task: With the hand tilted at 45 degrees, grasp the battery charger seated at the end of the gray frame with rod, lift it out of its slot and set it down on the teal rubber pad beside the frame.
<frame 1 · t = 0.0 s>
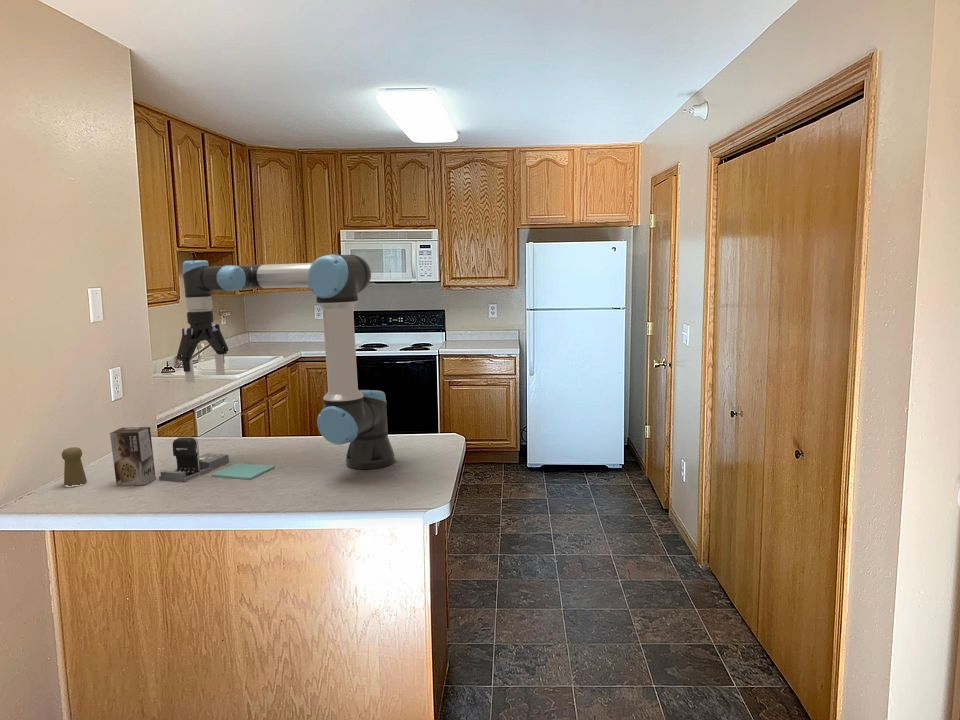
hand: (205, 378, 216), 28 cm above the worktop, tool pointing down, fingers open, 13 cm apart
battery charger: (187, 475, 210), resting in gray frame with rod
cork: (75, 484, 204), on the worktop
mat: (243, 472, 211), on the worktop
coffee box: (136, 482, 204), on the worktop
gray frame with rod: (196, 470, 214), on the worktop
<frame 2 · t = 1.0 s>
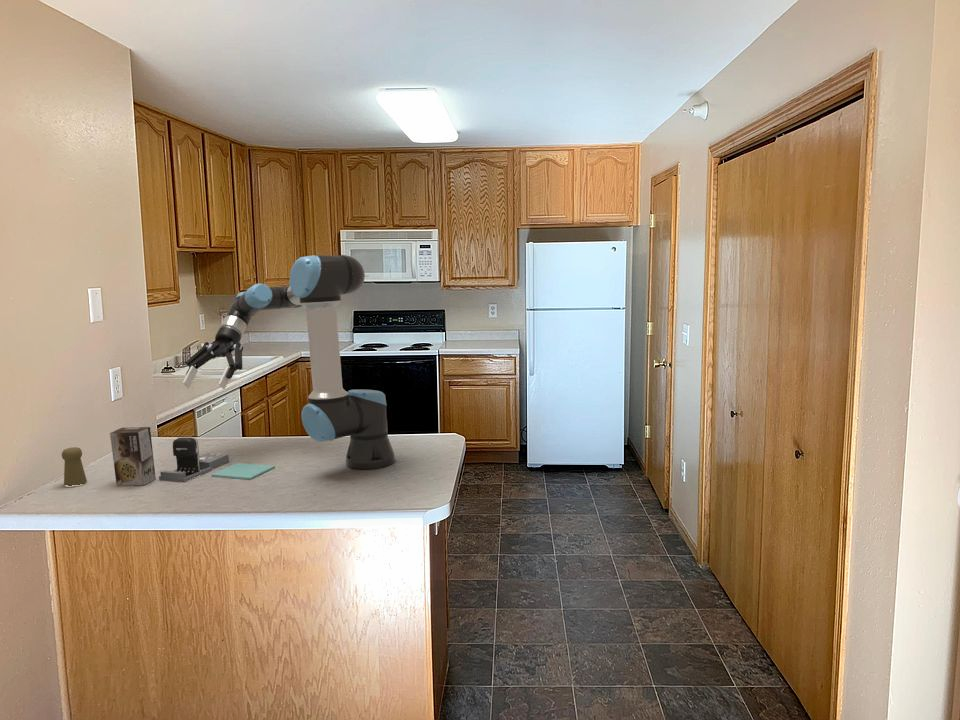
hand: (203, 385, 216), 26 cm above the worktop, tool tilted 45°, fingers open, 13 cm apart
nothing on the worktop moved.
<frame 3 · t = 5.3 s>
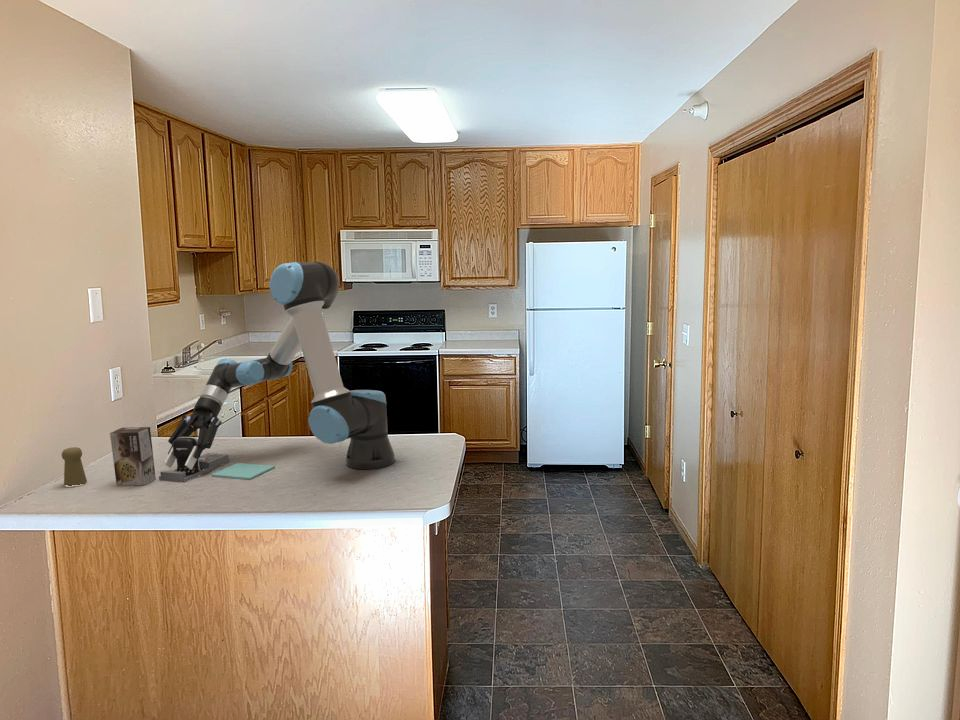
hand: (177, 466, 207), 4 cm above the worktop, tool tilted 45°, fingers closed on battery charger, 7 cm apart
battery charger: (187, 474, 210), resting in gray frame with rod, touching gripper
everything else where it was.
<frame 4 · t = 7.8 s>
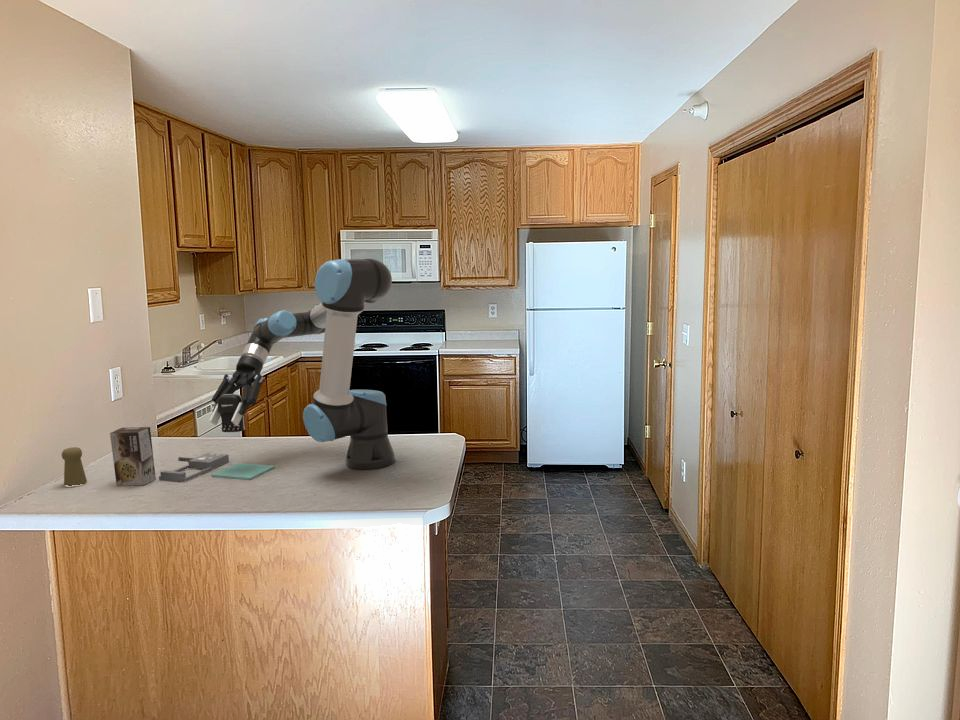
hand: (223, 423, 205), 16 cm above the worktop, tool tilted 45°, fingers closed on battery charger, 7 cm apart
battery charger: (232, 432, 209), point 13 cm above the worktop, touching gripper
everything else where it was.
when the fingers open (6 cm above the worktop, at t = 10.5 s): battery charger drops 2 cm, resting on mat.
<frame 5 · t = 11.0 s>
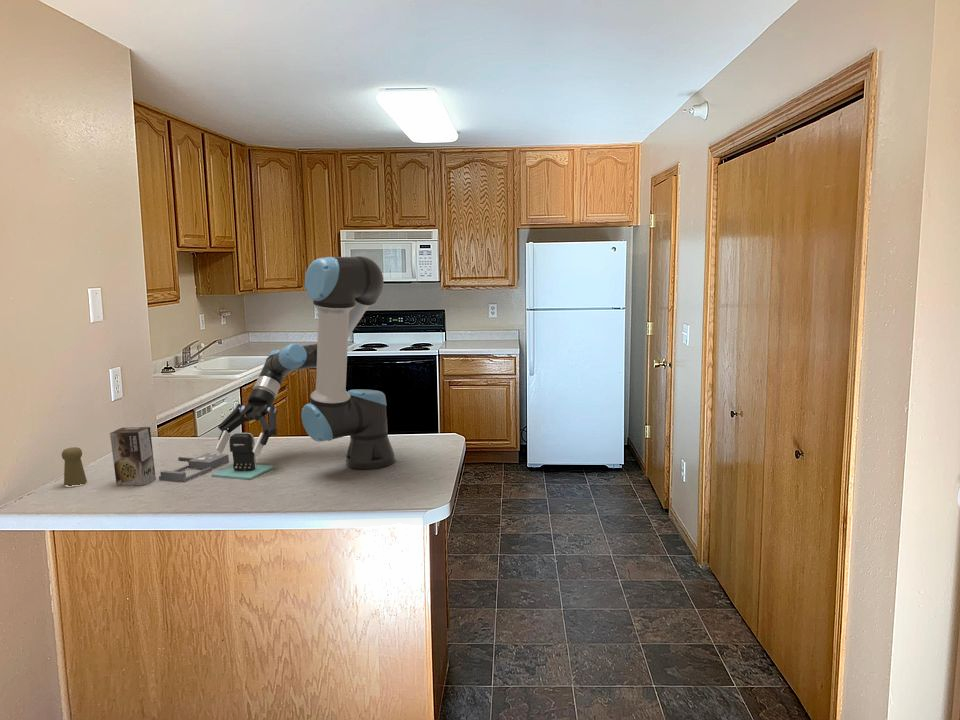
hand: (236, 452, 207), 7 cm above the worktop, tool tilted 45°, fingers open, 13 cm apart
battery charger: (244, 470, 211), resting on mat
everything else where it was.
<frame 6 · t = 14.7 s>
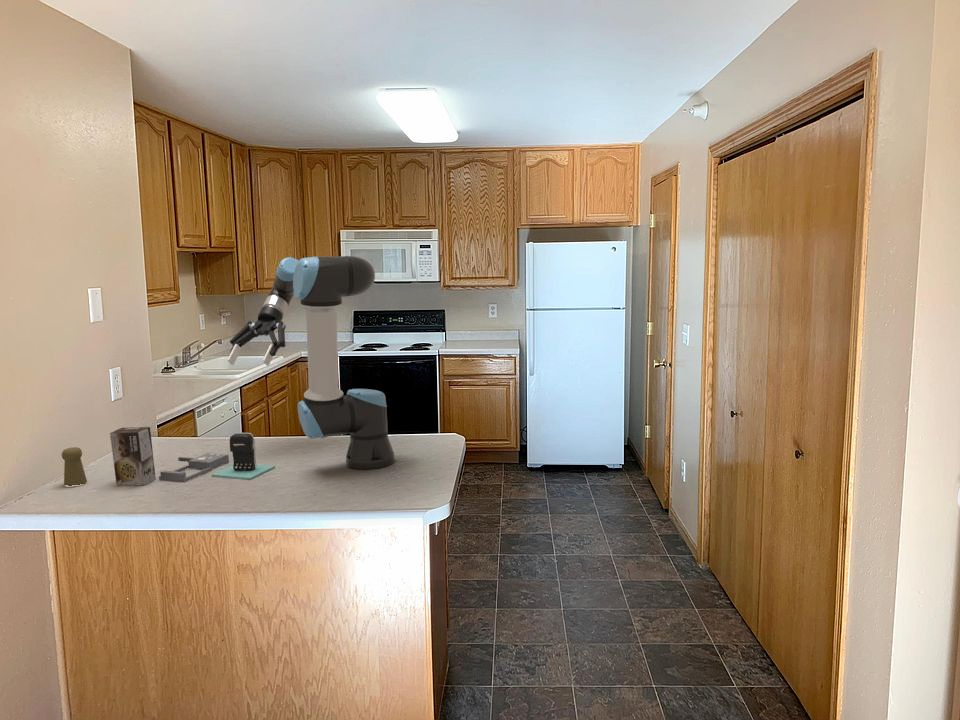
hand: (247, 362, 221), 32 cm above the worktop, tool tilted 45°, fingers open, 13 cm apart
nothing on the worktop moved.
at the end: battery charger inside the target area on the mat (0.1 cm from its centre), point 0.4 cm above the mat's base; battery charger touching mat; the gripper is holding nothing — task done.
